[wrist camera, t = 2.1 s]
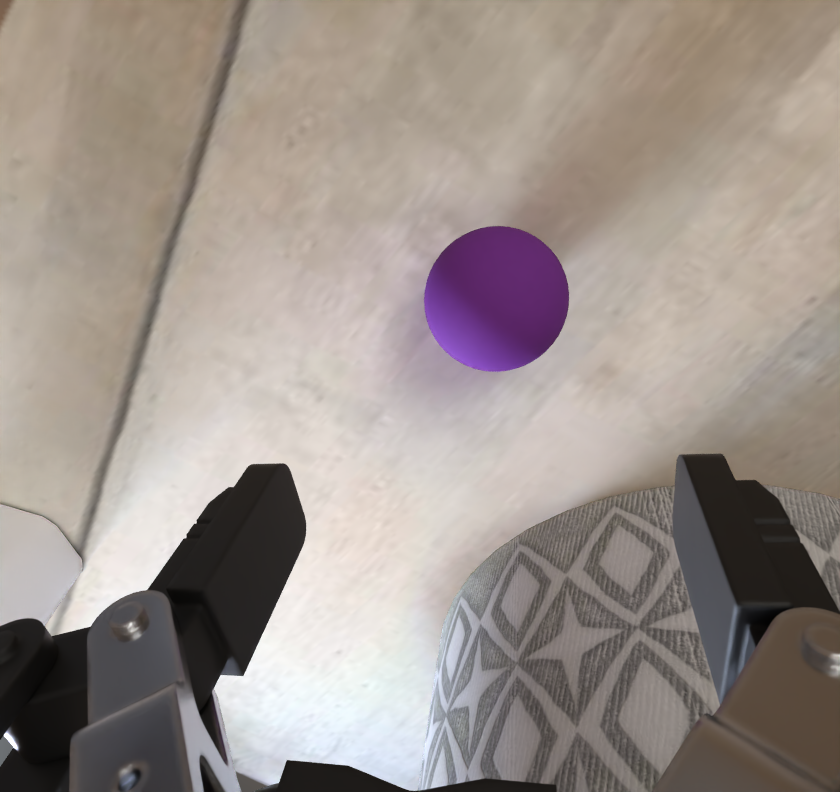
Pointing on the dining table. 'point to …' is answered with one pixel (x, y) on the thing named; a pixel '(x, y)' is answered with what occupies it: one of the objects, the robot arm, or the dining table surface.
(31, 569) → the cup
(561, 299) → the ball
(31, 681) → the robot arm
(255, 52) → the dining table surface
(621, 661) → the planter
